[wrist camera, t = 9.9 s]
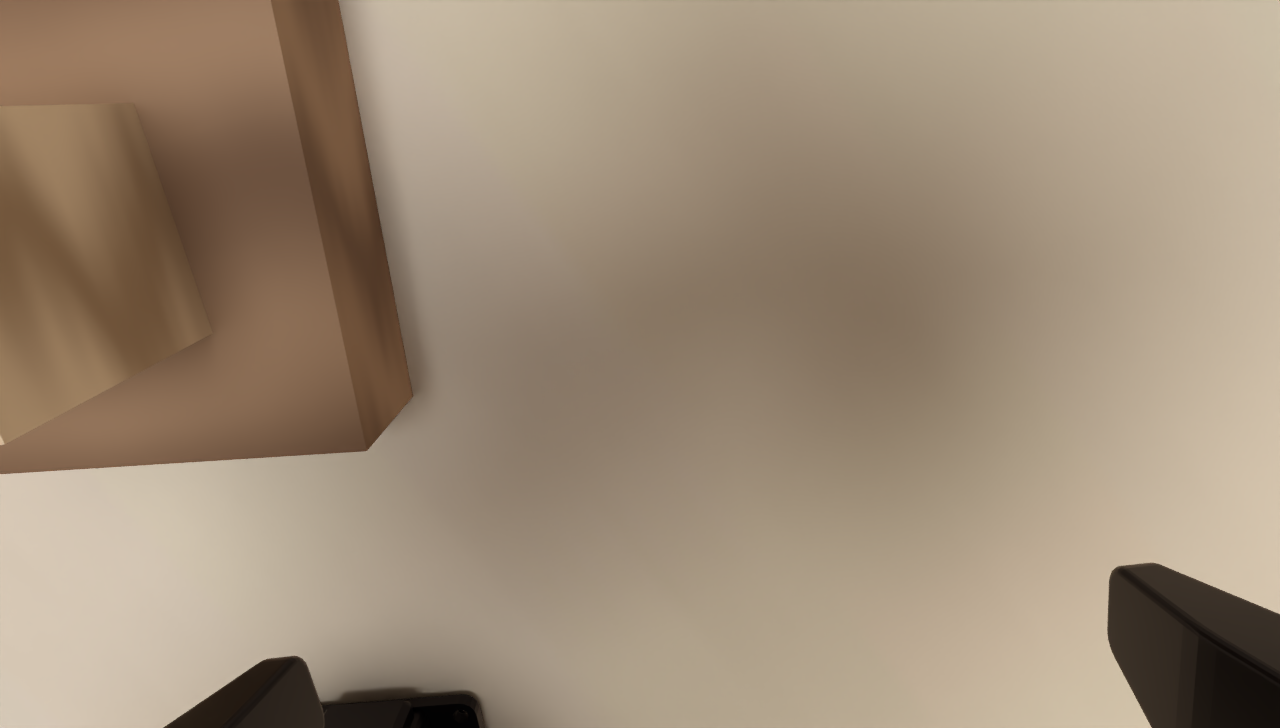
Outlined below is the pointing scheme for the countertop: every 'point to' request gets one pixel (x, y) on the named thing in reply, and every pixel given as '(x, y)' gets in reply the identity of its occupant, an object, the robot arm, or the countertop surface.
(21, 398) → the maple block
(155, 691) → the countertop surface
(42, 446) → the walnut block
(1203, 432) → the countertop surface
